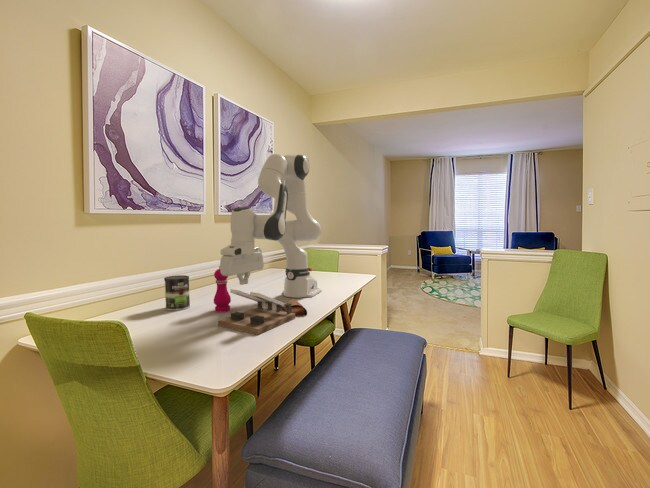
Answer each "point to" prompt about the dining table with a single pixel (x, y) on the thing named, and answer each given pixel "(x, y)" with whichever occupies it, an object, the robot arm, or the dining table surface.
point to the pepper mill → (221, 293)
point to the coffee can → (177, 292)
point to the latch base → (257, 329)
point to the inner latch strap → (247, 296)
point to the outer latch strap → (268, 299)
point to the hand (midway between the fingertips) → (243, 284)
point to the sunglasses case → (295, 308)
